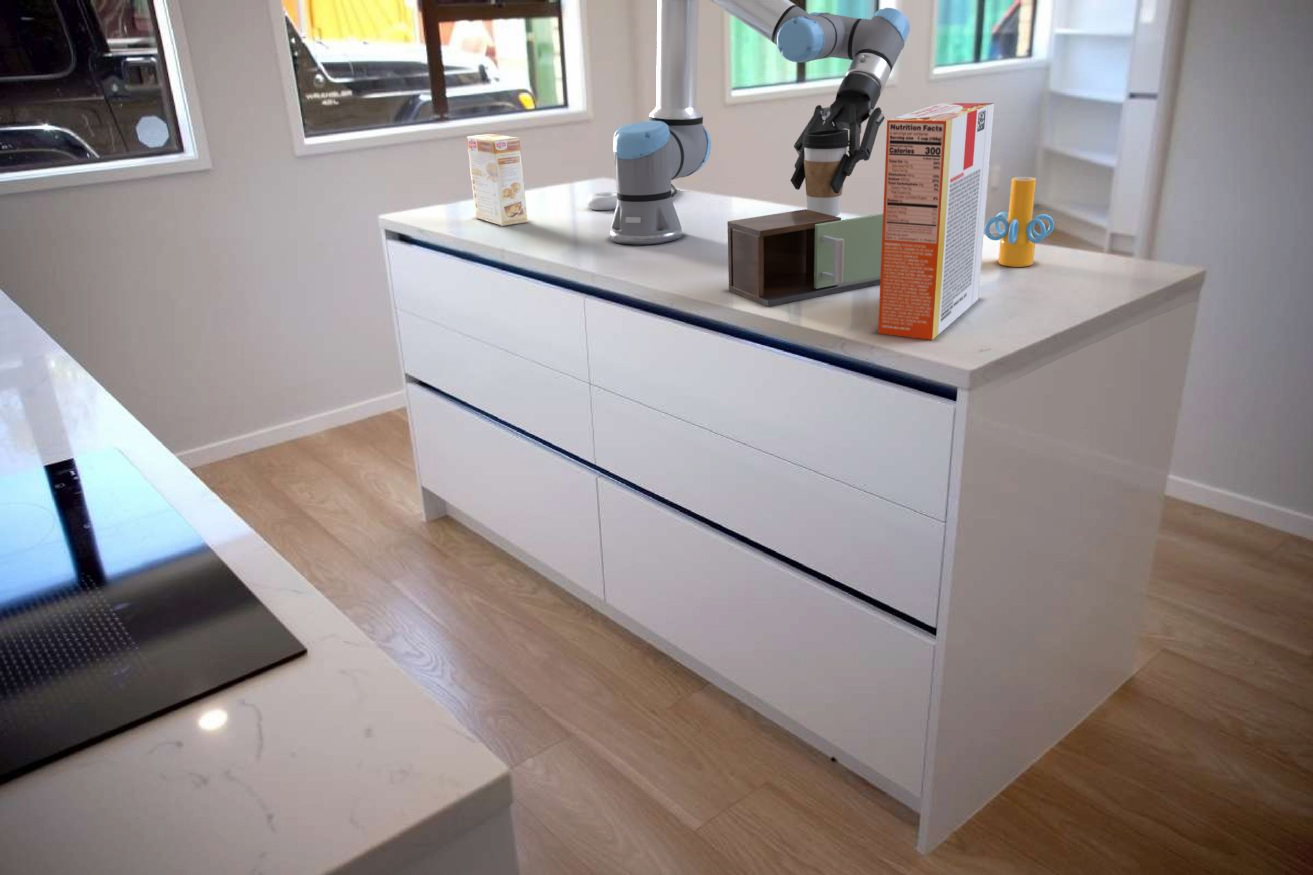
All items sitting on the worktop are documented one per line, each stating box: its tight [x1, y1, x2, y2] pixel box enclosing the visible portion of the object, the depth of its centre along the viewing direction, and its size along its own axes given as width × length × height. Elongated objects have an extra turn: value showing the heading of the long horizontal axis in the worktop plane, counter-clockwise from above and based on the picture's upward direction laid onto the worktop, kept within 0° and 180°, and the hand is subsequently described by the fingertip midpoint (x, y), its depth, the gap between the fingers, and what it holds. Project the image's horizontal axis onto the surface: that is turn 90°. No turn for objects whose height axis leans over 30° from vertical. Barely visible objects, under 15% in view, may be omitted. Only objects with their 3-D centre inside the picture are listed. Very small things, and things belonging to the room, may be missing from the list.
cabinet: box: [727, 208, 881, 308], centre depth 170 cm, size 12×27×12 cm, turn 118°
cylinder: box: [984, 176, 1055, 268], centre depth 177 cm, size 12×10×15 cm
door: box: [814, 213, 883, 289], centre depth 165 cm, size 6×16×11 cm, turn 118°
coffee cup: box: [802, 129, 849, 217], centre depth 182 cm, size 8×8×15 cm
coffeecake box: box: [466, 133, 529, 227], centre depth 237 cm, size 15×7×20 cm, turn 34°
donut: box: [586, 191, 617, 211], centre depth 249 cm, size 10×3×10 cm
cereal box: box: [877, 102, 995, 341], centre depth 147 cm, size 23×8×30 cm, turn 148°
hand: (814, 186), depth 181 cm, fingers closed on coffee cup, 8 cm apart
